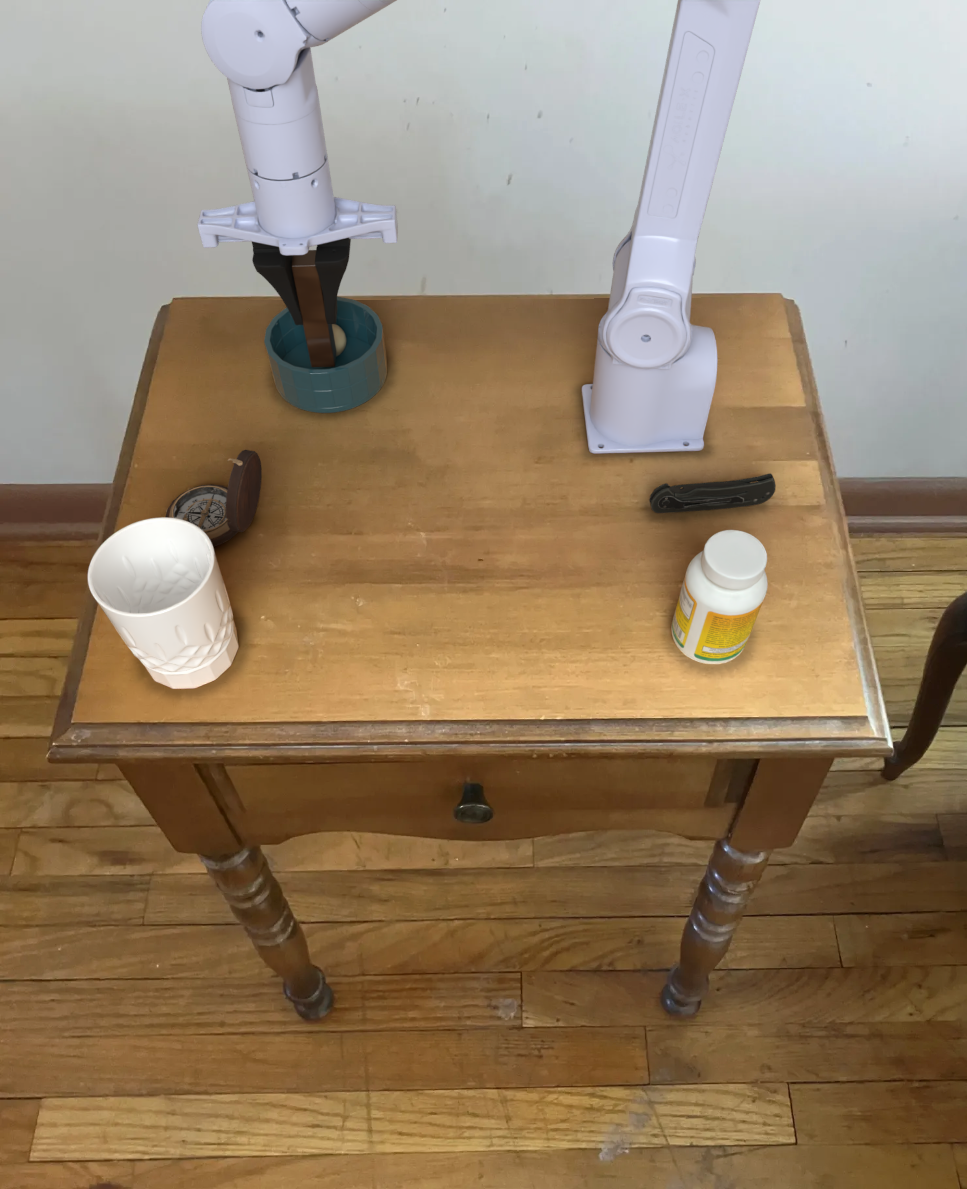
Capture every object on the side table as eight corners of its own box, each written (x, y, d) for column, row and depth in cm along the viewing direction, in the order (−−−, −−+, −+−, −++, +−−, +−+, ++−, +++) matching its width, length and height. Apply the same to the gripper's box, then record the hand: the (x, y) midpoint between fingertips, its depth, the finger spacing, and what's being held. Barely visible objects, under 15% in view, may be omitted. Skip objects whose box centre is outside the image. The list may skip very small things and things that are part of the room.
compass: (181, 487, 78) (155, 422, 73) (276, 498, 78) (258, 433, 72) (146, 565, 74) (116, 502, 68) (246, 577, 73) (224, 514, 67)
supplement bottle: (655, 637, 69) (675, 554, 62) (699, 592, 72) (724, 507, 64) (717, 681, 67) (746, 601, 59) (761, 633, 70) (794, 550, 62)
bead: (349, 342, 88) (345, 315, 85) (347, 364, 86) (342, 337, 84) (316, 343, 88) (310, 316, 85) (313, 365, 86) (308, 338, 84)
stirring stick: (336, 351, 83) (319, 249, 75) (335, 367, 82) (317, 265, 74) (313, 351, 83) (293, 250, 75) (311, 367, 82) (291, 265, 74)
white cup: (224, 706, 67) (186, 625, 59) (117, 687, 68) (65, 604, 60) (262, 613, 71) (232, 526, 63) (161, 597, 72) (118, 508, 64)
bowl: (389, 335, 89) (384, 294, 86) (385, 411, 83) (380, 371, 80) (280, 338, 89) (271, 297, 86) (268, 415, 83) (258, 374, 80)
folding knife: (767, 496, 77) (776, 470, 75) (772, 508, 76) (781, 482, 74) (646, 507, 77) (651, 481, 74) (650, 519, 76) (655, 494, 73)
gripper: (173, 193, 66) (220, 351, 77) (388, 188, 66) (403, 347, 77) (189, 137, 70) (231, 295, 81) (391, 132, 70) (405, 291, 81)
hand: (316, 317), depth 79 cm, fingers closed on stirring stick, 2 cm apart
